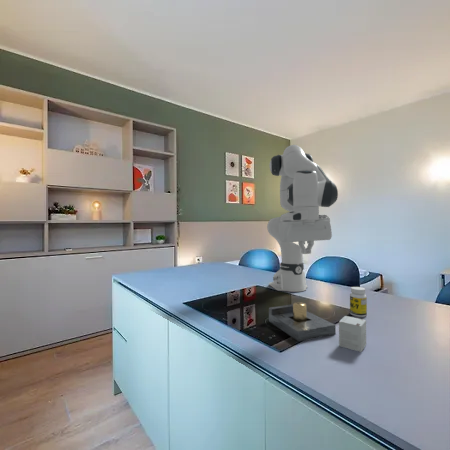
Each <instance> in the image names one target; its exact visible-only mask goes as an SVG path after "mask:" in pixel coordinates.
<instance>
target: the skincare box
mask: <svg viewBox="0 0 450 450" xmlns="http://www.w3.org/2000/svg"><path fill="white" fill-rule="evenodd" d="M366 345H367V320H366V319H361V318H359V317H353V316H347V315H344V316H343V317H342V318H341V319H339V322H338V346H339V347H341V348H345V349H349V350H352V351H355V352H358V353H359V352H360V353H362V352H363V351H364V349H365V347H366Z"/></svg>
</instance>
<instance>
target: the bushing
mask: <svg viewBox="0 0 450 450" xmlns="http://www.w3.org/2000/svg"><path fill="white" fill-rule="evenodd" d="M292 304H293V320H294V321H296V322H304V321H307V311H308V310H307V303H305V302H301V301H297V302H293V303H292Z"/></svg>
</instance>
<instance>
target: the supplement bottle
mask: <svg viewBox="0 0 450 450" xmlns="http://www.w3.org/2000/svg"><path fill="white" fill-rule="evenodd" d="M350 292H351V293H349V312H350V315H352V317H353V316H354V317H356V318H364V317H367V316H368V308H367V307H368V306H367V305H368V304H367V303H368V301H367V299H368V298H367V297H368V296H367V295H366V288H364V287H361V286H351V287H350Z"/></svg>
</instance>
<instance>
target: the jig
mask: <svg viewBox="0 0 450 450" xmlns="http://www.w3.org/2000/svg"><path fill="white" fill-rule="evenodd" d="M268 322H269V323H271V324H272V325H274V326H275V327H277V328H278V329H280V331H283V332H284V333H286V335H288V336H290V337H291V338H293V339H294V340H295V341H297V342H303V341H304V342H305V341H309V340H312V339H313V340H314V339H318V338H324V337H328V336H334V335H336V333H337V332H336V324H335V323H332V322H330V321H328V320H327V319H324V318H322V317H320V316H318V315H316V314H315V313H312V312H309V311H308V310H307V321H304V322H296V321H294V320H293V303H292V304H285V305H280V306H279V305H278V306H271V307H268Z"/></svg>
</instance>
